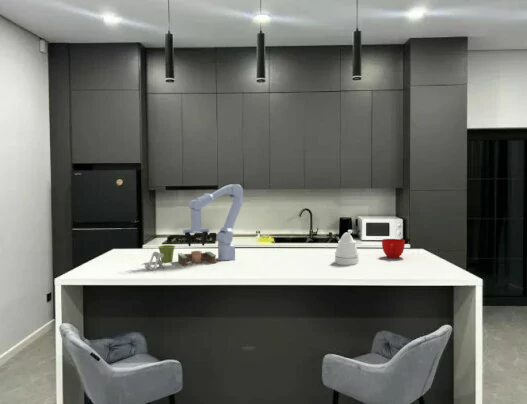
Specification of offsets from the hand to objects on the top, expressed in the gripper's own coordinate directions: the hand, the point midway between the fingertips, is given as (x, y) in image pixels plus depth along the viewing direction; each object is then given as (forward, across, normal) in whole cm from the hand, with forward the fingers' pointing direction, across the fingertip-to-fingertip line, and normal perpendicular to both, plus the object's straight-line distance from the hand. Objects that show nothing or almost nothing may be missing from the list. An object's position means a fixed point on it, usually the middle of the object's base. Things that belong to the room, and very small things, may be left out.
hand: (196, 245), depth 252 cm
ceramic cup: (+10, -110, +29) cm, 114 cm away
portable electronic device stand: (+10, +24, +10) cm, 28 cm away
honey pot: (+10, -77, +32) cm, 84 cm away
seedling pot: (+9, 0, 0) cm, 9 cm away
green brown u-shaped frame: (+9, 0, +1) cm, 9 cm away
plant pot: (+10, +15, -9) cm, 20 cm away
